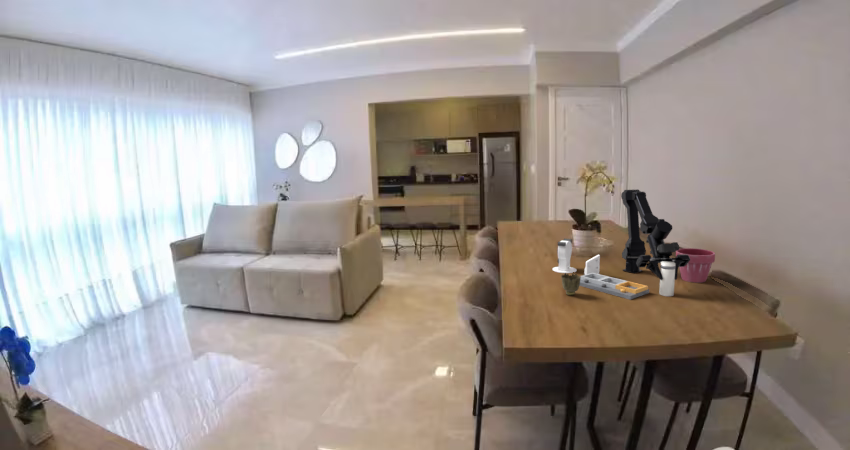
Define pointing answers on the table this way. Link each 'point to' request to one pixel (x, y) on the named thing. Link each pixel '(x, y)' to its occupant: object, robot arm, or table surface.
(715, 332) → the table surface
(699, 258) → the plant pot
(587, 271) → the white wedge bracket
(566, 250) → the white charging stand
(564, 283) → the cup
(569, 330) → the table surface
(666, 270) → the white bottle
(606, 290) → the board
